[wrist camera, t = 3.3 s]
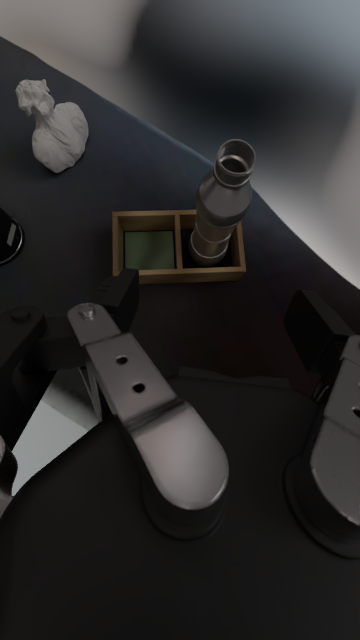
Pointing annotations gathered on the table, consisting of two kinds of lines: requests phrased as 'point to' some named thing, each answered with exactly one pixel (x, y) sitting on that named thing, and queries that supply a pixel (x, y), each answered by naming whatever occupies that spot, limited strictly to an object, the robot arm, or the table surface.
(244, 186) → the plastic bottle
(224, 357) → the table surface
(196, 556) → the robot arm
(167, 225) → the brown open rectangular box
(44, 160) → the bust
